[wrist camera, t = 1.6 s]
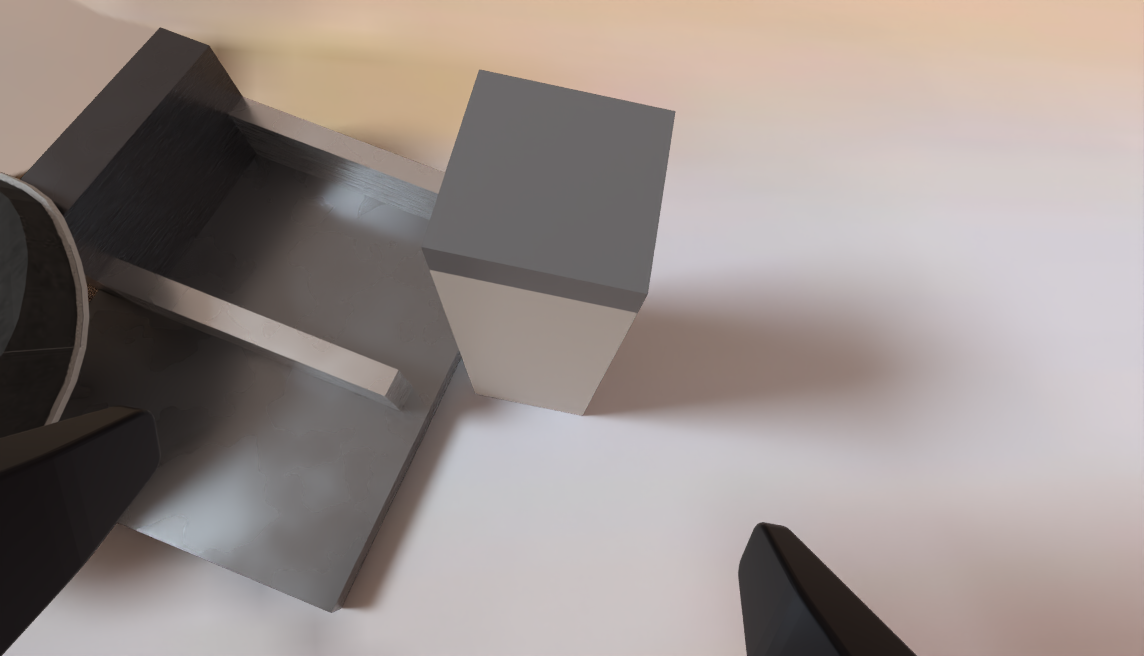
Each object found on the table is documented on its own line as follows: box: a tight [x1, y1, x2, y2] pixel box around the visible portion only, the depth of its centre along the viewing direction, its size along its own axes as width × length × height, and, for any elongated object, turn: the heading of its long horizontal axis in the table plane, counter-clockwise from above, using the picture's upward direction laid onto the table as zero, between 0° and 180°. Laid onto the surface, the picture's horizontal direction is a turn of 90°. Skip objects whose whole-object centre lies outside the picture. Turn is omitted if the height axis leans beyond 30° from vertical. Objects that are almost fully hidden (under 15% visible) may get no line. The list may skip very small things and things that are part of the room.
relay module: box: [421, 70, 675, 416], centre depth 17 cm, size 4×5×12 cm
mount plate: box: [20, 28, 462, 613], centre depth 19 cm, size 14×16×6 cm
